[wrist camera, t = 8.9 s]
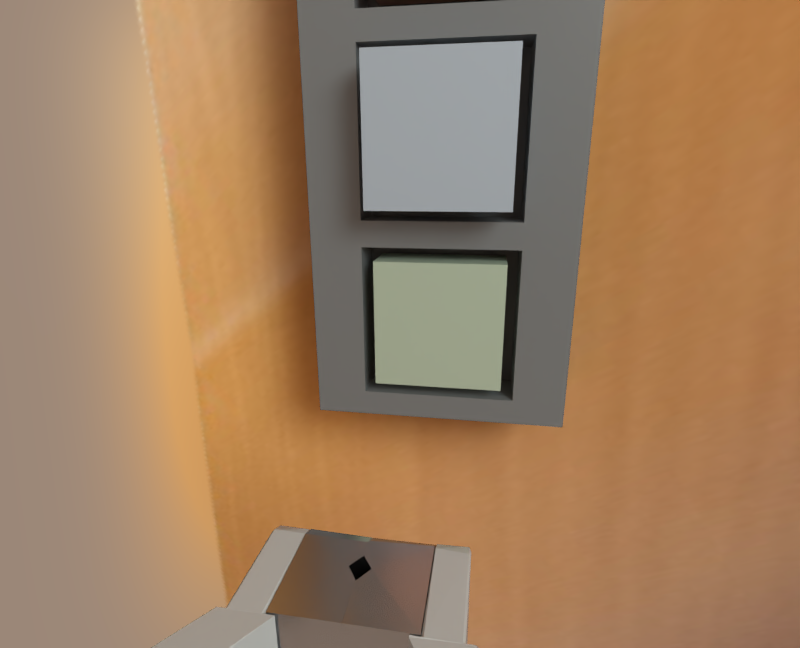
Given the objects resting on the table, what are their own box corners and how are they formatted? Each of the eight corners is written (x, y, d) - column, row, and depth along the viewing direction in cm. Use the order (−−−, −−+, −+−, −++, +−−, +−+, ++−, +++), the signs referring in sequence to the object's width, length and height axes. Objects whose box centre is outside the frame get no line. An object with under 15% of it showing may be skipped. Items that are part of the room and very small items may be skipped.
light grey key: (510, 207, 19) (512, 212, 17) (375, 206, 19) (363, 211, 18) (519, 54, 17) (523, 40, 15) (372, 59, 18) (359, 47, 16)
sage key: (499, 371, 22) (500, 391, 20) (385, 364, 23) (375, 383, 21) (506, 255, 20) (507, 265, 19) (383, 252, 21) (373, 261, 19)
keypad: (550, 385, 24) (562, 427, 20) (344, 373, 26) (320, 409, 22) (629, -496, 15) (675, -709, 12) (311, -434, 17) (261, -602, 13)
